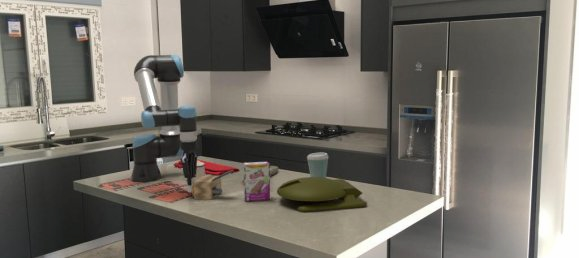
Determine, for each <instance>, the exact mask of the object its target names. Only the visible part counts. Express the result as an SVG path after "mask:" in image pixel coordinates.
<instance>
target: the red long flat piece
mask: <svg viewBox="0 0 579 258" xmlns="http://www.w3.org/2000/svg"><path fill="white" fill-rule="evenodd" d="M198 161H200V162H203V163H204V164H205V166H204V167H205V173H206V174H205V175H209V174H211V175H212V176H220V175H222V174H224V173H226V172H228V171H230V170H234V171H233V172H235V173H238V171H239V172H240V169H239V168H238V167H234V166H230V165H225V164H221V163H220V164H219V163H215V162H210V161H207V160H202V159H198ZM174 166H175V167H174ZM173 167H174V168H177V167H179V168H178V169H181V168H183V167H182V163H181V160H179V161H178V162H175V163H174V164H173ZM233 172H231V173H230V174H234V173H233Z"/></svg>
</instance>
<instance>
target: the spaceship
mask: <svg viewBox="0 0 579 258" xmlns="http://www.w3.org/2000/svg"><path fill="white" fill-rule="evenodd" d="M276 193H277V195H278V196H279V197H282V198H284V199H287V200H291V201H292V200H293V201H298V202H299V201H300V202H325V201H331V200H338V201H340V202H328V203H316V204H315V203H314V204H303V205H300V206H298V207H297V210H298V211H299V212H300V213H310V212H311V213H312V212H325V211H333V210H336V211H337V210H347V209H357V208H358V209H360V208H364V207H367V205H368V204H367V202H366V201H364V200H357V198H358V197H360V196H361V195H363V192H362V191H361V190H359V189H358V188H357V187H355V186H354V185H353V184H351V183H350V182H349V181H346V180H345V179H343V178H337V179H333V178H327V177H326V178H322V177H311V176H310V177H309V176H308V177H305V176H304V177H299V178H293V179H290V180H288V181H286V182H283V183H282V184H281V185H279V187H278V188H277V190H276Z"/></svg>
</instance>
